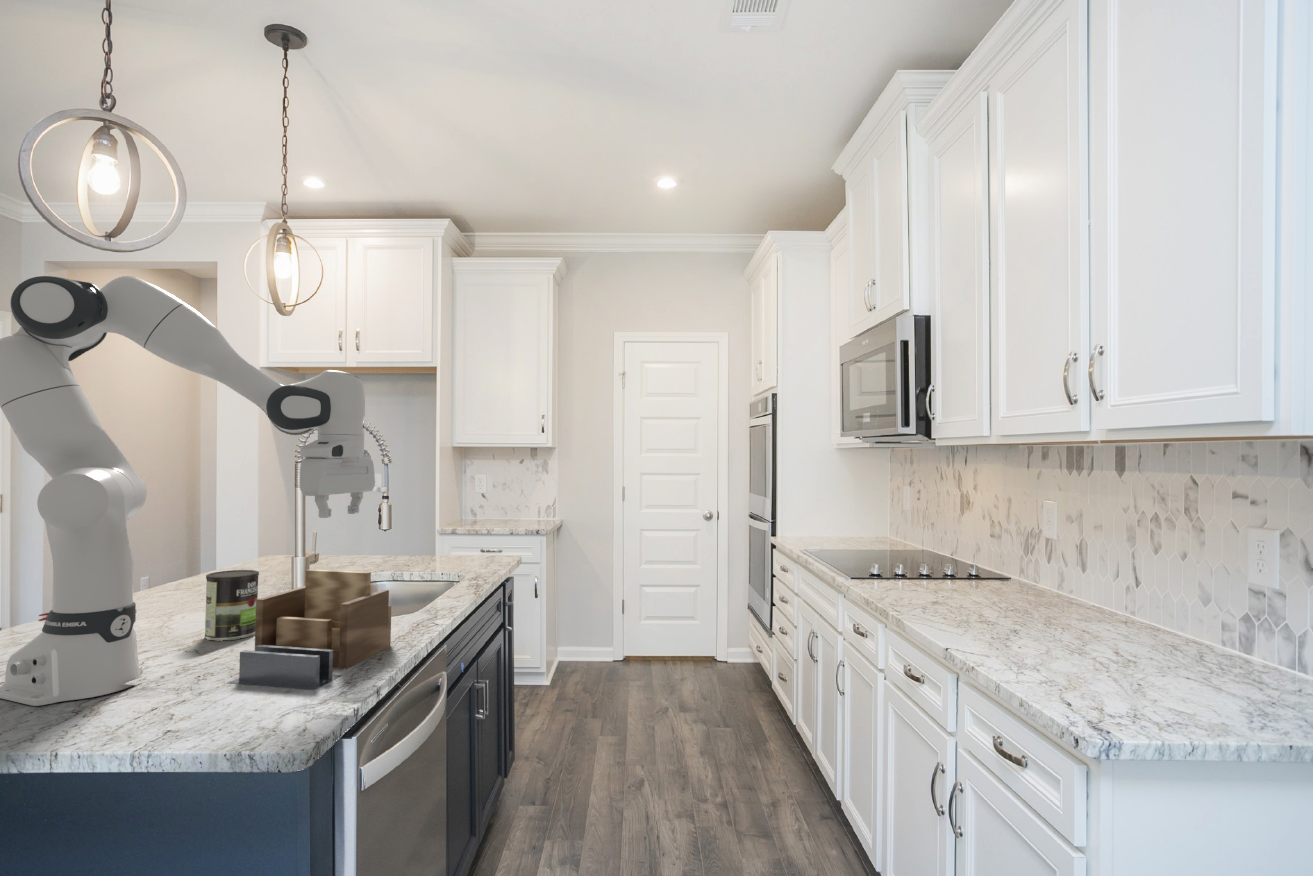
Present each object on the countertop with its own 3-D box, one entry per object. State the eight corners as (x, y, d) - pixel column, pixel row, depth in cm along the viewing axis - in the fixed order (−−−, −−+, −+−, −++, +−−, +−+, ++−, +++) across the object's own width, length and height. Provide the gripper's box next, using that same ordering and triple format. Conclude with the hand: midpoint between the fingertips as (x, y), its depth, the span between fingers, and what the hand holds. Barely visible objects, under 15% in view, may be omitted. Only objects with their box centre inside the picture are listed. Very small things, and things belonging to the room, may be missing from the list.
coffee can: (267, 630, 159) (269, 570, 159) (233, 642, 149) (235, 578, 149) (228, 628, 161) (230, 568, 161) (192, 639, 150) (194, 576, 151)
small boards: (275, 659, 132) (276, 618, 133) (291, 652, 137) (292, 613, 137) (342, 664, 130) (344, 622, 130) (356, 657, 134) (357, 616, 135)
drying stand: (226, 691, 119) (227, 654, 119) (260, 677, 126) (261, 641, 127) (313, 698, 116) (314, 660, 116) (342, 683, 124) (343, 647, 124)
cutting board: (303, 647, 140) (305, 570, 141) (307, 646, 142) (309, 569, 142) (365, 651, 138) (367, 573, 139) (368, 650, 139) (370, 572, 140)
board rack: (252, 670, 130) (254, 599, 130) (308, 647, 146) (309, 584, 146) (344, 677, 127) (346, 605, 127) (391, 653, 143) (392, 588, 143)
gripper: (357, 449, 152) (355, 511, 151) (294, 448, 131) (292, 519, 131) (383, 449, 151) (381, 511, 150) (323, 448, 130) (321, 520, 130)
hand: (339, 515), depth 141 cm, fingers open, 8 cm apart
